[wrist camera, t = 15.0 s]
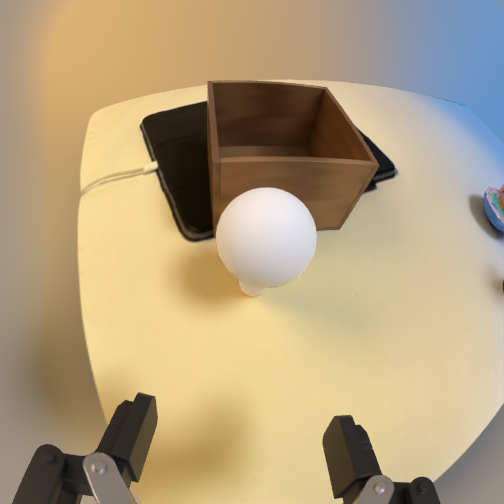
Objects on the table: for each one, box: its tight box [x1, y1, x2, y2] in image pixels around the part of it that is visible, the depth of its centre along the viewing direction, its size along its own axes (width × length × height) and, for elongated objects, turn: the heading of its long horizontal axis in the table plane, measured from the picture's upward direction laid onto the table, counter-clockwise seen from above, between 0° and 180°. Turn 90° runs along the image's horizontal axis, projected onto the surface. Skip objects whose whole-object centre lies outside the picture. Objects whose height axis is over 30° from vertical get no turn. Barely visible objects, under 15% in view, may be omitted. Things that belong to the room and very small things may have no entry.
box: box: [207, 81, 379, 237], centre depth 25 cm, size 13×13×10 cm
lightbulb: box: [216, 188, 317, 296], centre depth 19 cm, size 6×6×11 cm
